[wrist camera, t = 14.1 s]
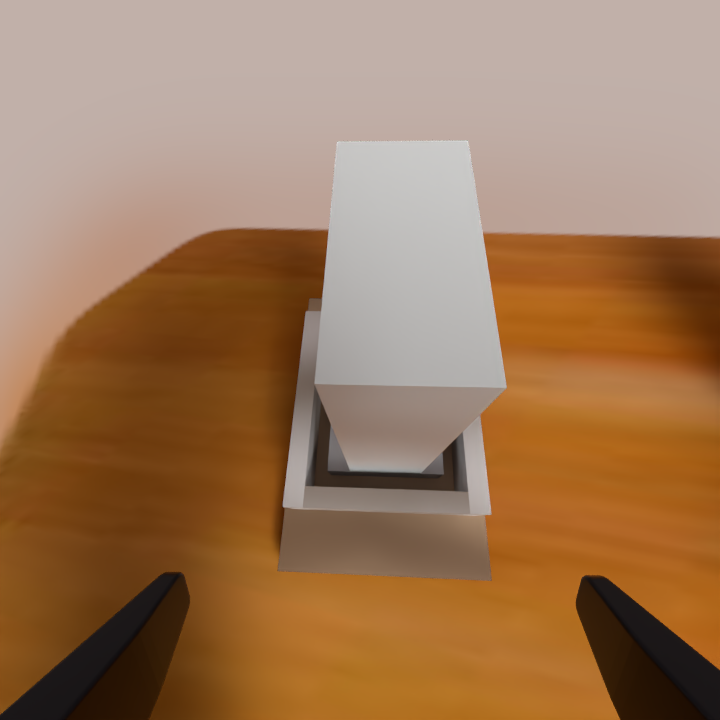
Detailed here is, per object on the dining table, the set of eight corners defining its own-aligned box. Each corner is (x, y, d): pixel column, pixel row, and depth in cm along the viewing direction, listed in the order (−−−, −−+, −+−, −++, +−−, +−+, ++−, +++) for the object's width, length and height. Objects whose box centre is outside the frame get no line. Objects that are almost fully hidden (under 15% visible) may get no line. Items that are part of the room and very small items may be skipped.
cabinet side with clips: (483, 576, 16) (513, 590, 12) (284, 567, 16) (261, 579, 13) (457, 311, 21) (472, 273, 18) (312, 309, 22) (302, 272, 19)
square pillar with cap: (437, 478, 16) (573, 388, 5) (331, 475, 16) (252, 382, 6) (429, 341, 19) (504, 108, 8) (339, 340, 19) (299, 111, 9)
